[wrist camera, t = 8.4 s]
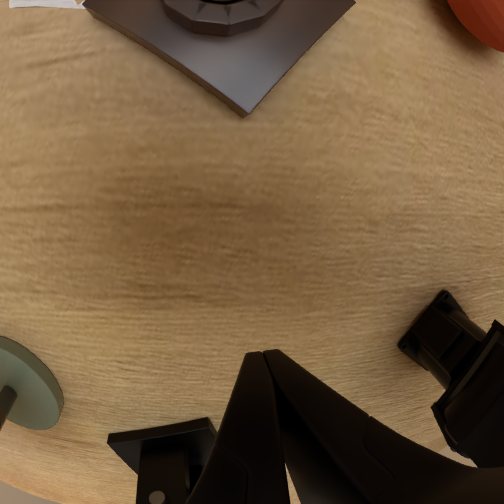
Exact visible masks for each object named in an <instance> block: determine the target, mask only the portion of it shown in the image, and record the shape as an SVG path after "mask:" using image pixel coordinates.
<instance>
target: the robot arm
mask: <svg viewBox="0 0 504 504" xmlns="http://www.w3.org/2000/svg"><path fill="white" fill-rule="evenodd" d="M398 348H399V349H400V350H401V351H402V352H403V353H404V354H406V355H407V356H408V357H410V358H411V359H412V360H414V361H415V362H416V363H417V364H419V365H420V366H421V367H423V368H424V369H425V370H427V371H430V372H431V374H432V375H433V376H434V377H435V378H436V379H437V380H438V382H439V383H440V384H441V385H442V386H443V387H444V388H445V390H446V391H445V392H444V393H443V395H442V396H441V397H440V398H439V399H438V401H437V402H435V403H434V404H433V405H432V406H431V409H432V411H433V413H434V417H435V419H436V421H437V423H438V425H439V427H440V429H441V431H442V433H443V435H444V438H445V440H446V442H447V444H448V446H449V447H450V449H451V450H452V451H453V452H457V453H459V454H460V455H461V456H463V457H465V458H470V459H471V460H472V461H473V462H474V463H475V464H476V465H477V467H478V468H476V467H470V466H467V465H464V464H461V463H459V462H456V461H454V460H451V459H449V458H447V457H445V456H442V455H441V454H438V453H436V452H434V451H432V450H430V449H428V448H426V447H423V446H421V445H419V444H417V443H415V442H413V441H411V440H410V439H408V438H406V437H404V436H402V435H400V434H398V433H397V432H395V431H393V430H392V429H390V428H389V427H387V426H385V425H384V424H382V423H381V422H379V421H378V420H376V419H375V418H373V417H372V416H369V415H368V414H367V413H366V412H364V411H363V410H361V409H360V408H358V407H357V406H356V405H354V404H353V403H351V402H350V401H348V400H347V399H346V398H344V397H343V396H341V395H340V394H339V393H337V392H336V391H334V390H333V389H332V388H330V387H329V386H327V385H326V384H325V383H323V382H322V381H320V380H319V379H318V378H316V377H315V376H314V375H312V374H311V373H310V372H308V371H307V370H306V369H304V368H303V367H301V366H300V365H299V364H297V363H296V362H295V361H293V360H292V359H291V358H289V357H288V356H287V355H286V354H284V353H283V352H282V351H280V350H278V349H273V350H265V351H263V353H262V352H260V351H257V352H248V353H246V354H245V357H244V359H243V362H242V365H241V368H240V371H239V374H238V377H237V380H236V383H235V385H234V388H233V391H232V394H231V397H230V400H229V402H228V405H227V408H226V411H225V414H224V416H223V419H222V422H221V425H220V428H219V430H218V433H217V436H216V439H215V441H214V445H213V446H212V449H211V452H210V454H209V457H208V460H207V462H206V464H205V467H204V469H203V471H202V474H201V476H200V478H199V480H198V482H197V483H196V485H195V487H194V489H193V491H192V493H191V495H190V496H189V498H188V500H187V501H186V503H185V504H290V497H289V489H288V482H287V475H286V467H285V464H286V466H287V469H288V471H289V474H290V477H291V479H292V482H293V484H294V487H295V490H296V492H297V495H298V497H299V500H300V502H301V504H504V326H503V325H502V324H500V323H499V322H498V321H496V320H494V321H493V323H492V327H491V328H490V330H489V331H488V333H486V332H485V331H484V330H482V329H481V328H480V327H479V326H477V325H476V324H475V323H474V322H472V321H471V320H470V319H469V318H468V316H467V315H466V314H465V312H464V311H463V310H462V308H461V307H460V306H459V304H458V303H457V302H456V300H455V299H454V298H453V296H452V295H451V294H450V293H449V292H448V291H447V290H444V291H442V292H441V293H440V295H439V296H438V297H437V298H436V300H435V301H434V302H433V303H432V305H431V306H430V307H429V308H428V310H427V311H426V312H425V313H424V314H423V316H422V317H421V318H420V319H419V320H418V322H417V323H416V324H415V325H414V326H413V327H412V329H411V330H410V331H409V332H408V333H407V334H406V335H405V336H404V338H403V339H402V340H401V341H400V342H399V344H398ZM368 417H369V418H368Z"/></svg>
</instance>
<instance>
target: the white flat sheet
mask: <svg viewBox="0 0 504 504" xmlns="http://www.w3.org/2000/svg"><path fill="white" fill-rule="evenodd" d="M9 1H10V5H9V8H15V7H32V6H42V7H61V8H81V9H86V8H85V7H84V6H83V5H82V3H83V2H84V1H83V2H82V3H81V4H79V5H77V3H76V1H75V0H9Z"/></svg>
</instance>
